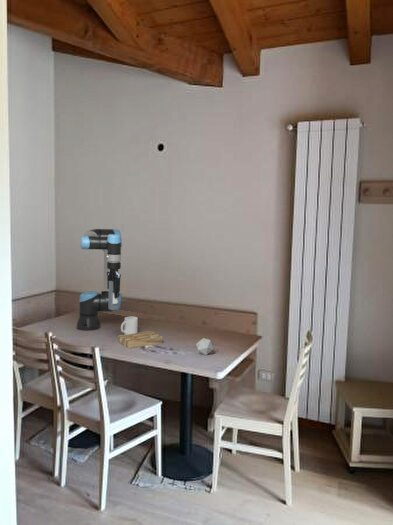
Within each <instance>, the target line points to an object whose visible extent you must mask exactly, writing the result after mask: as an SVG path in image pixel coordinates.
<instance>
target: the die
mask: <svg viewBox="0 0 393 525" xmlns="http://www.w3.org/2000/svg"><path fill="white" fill-rule="evenodd" d="M196 348H197V352H198V353H199V354H200V355H204V356H207V355H208V354H209V353H211V352H212V351H213V350H214V347H213V345H212V341H211V340H210V339H208V338H204V337H203V338H202V339H200V340H199V341H198V342H196Z"/></svg>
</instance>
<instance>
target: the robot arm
mask: <svg viewBox="0 0 393 525" xmlns="http://www.w3.org/2000/svg"><path fill="white" fill-rule="evenodd" d="M122 247H123V244H122V234H121V231H120V229H115V228H114V229H113V228H112V229H111V228H93V229H90V230H87V231H86V232H84V233H83V235H82V236H81V237H80V249H81V250H102V252H103V289H102V290H101V293H99V292H98V291H97V290H95V291H93V290H91V291H90V290H89V291H85V292H82V293H80V295H79V301H78V302H79V309H78V310H79V316H78V319H77V322H76V329H77V330H80V331H94V330H95V331H96V330H98V329H100V328H101V321H100V318H99V313H100V312H101V313H102V312H103V313H105V312H111V313H113V312H119V311H120V309H121V304H122V295H123V294H122V293H120V292H121V291H120V290H121V276H122V274H119V270H120V269H121V264H122V263H121V261H122V252H121V251H122ZM109 281H113V304H117V303H118V309H117V310H110V309H108V301H109ZM98 312H99V313H98Z"/></svg>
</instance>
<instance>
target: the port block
mask: <svg viewBox="0 0 393 525" xmlns="http://www.w3.org/2000/svg"><path fill="white" fill-rule="evenodd" d="M163 338H164V337H163V336H162V335H160V334H158V333H156V332H154V331H151V330H148V331H141V332H137V333H133V334H126V335H125V334H120V335H118V336H117V343H118V342H119V344H120V345H122V346H123V347H125V348H127V349H135V348H140V347H141V346H142V347H146V346H147V345H148V346H153V345H158V344H160V345H161V344H163V343H164V342H163V341H164V340H163ZM148 346H147V347H148Z"/></svg>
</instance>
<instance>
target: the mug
mask: <svg viewBox="0 0 393 525" xmlns="http://www.w3.org/2000/svg"><path fill="white" fill-rule="evenodd" d="M138 319H139V318H138V317H137V316H124V321H122V323H121V325H120V331H121V333H122V334H123V335H126V334H133V333H138V326H139V325H138V324H139V323H138V321H139V320H138Z"/></svg>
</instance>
